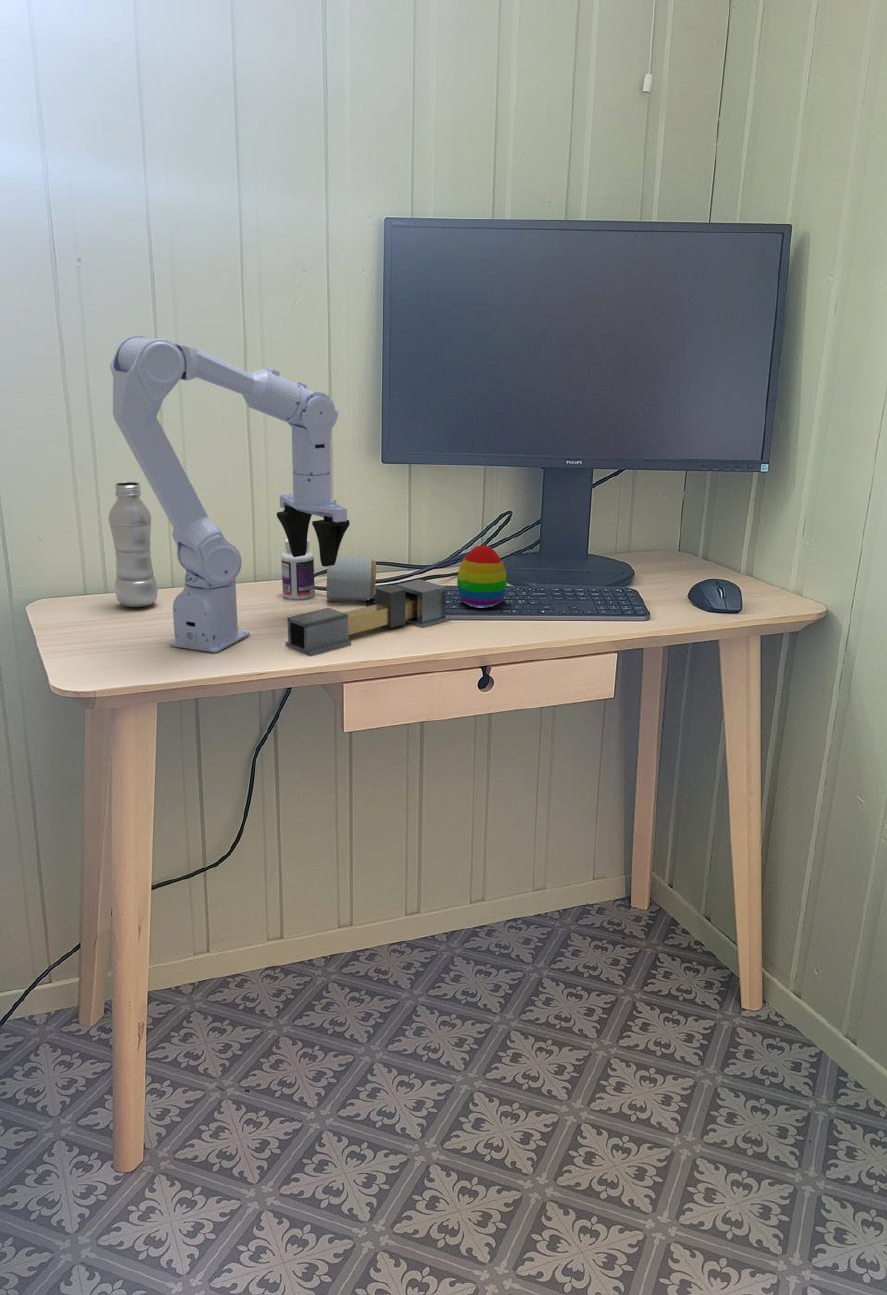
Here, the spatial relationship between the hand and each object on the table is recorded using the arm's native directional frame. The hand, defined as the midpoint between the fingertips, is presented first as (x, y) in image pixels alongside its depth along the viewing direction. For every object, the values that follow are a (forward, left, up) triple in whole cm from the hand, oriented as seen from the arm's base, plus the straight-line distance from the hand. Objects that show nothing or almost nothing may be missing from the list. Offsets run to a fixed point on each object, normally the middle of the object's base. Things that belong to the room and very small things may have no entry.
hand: (313, 560), depth 168 cm
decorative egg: (+20, -21, -10) cm, 30 cm away
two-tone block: (+1, -11, -9) cm, 14 cm away
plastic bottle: (-4, +30, -10) cm, 32 cm away
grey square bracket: (+8, -15, -10) cm, 19 cm away
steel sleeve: (-10, -6, -10) cm, 15 cm away
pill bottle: (+12, +9, -10) cm, 18 cm away
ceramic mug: (+15, +1, -10) cm, 18 cm away
